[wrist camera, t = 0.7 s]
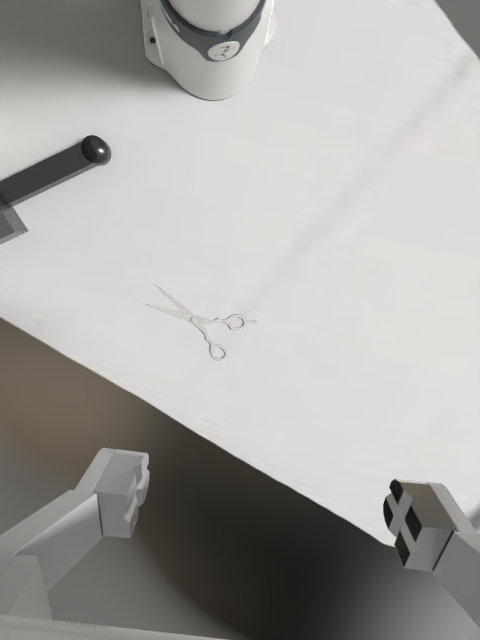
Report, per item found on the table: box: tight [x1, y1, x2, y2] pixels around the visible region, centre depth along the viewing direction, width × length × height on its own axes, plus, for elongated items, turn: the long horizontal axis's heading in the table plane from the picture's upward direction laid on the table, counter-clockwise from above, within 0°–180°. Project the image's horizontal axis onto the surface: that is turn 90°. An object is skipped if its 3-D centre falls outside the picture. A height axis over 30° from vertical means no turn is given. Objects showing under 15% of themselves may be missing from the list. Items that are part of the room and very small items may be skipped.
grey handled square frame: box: [0, 135, 111, 244], centre depth 45 cm, size 11×29×4 cm, turn 113°
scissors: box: [144, 284, 258, 361], centre depth 56 cm, size 11×1×20 cm
